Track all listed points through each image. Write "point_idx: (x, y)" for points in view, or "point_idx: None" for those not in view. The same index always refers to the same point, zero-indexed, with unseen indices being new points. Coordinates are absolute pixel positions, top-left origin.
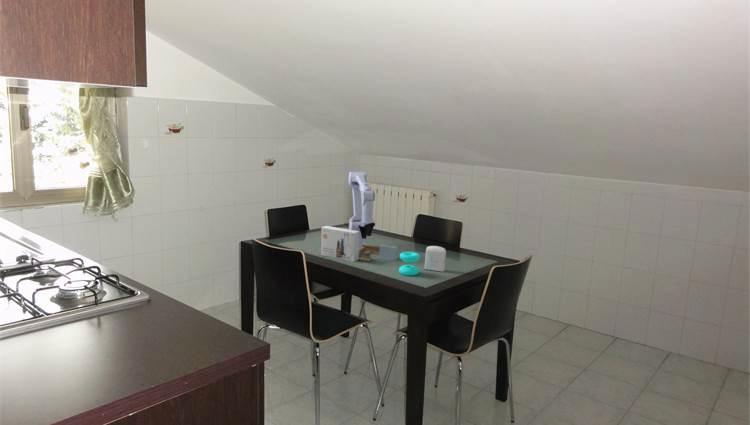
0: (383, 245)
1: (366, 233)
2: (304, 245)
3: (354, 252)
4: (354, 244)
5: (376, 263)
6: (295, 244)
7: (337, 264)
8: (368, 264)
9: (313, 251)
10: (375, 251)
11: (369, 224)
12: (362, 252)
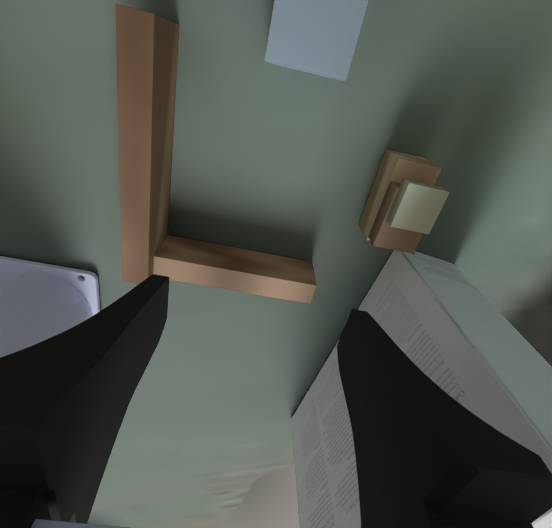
0: (305, 17)
1: (411, 363)
2: (170, 498)
3: (493, 306)
4: (548, 364)
5: (518, 75)
6: (171, 519)
7: (524, 338)
8: (546, 147)
9: (264, 460)
10: (166, 144)
11: (75, 477)
12: (391, 248)
